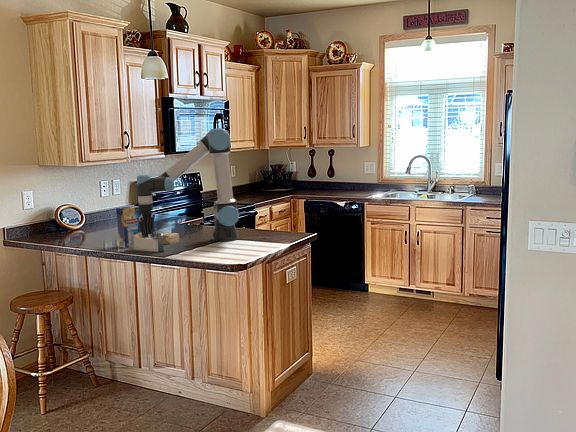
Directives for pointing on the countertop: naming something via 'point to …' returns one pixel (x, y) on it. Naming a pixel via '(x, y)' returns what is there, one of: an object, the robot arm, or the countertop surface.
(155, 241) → the white upright plank
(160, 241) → the posts
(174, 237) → the oak block
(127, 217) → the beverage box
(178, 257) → the countertop surface
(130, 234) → the latch post
